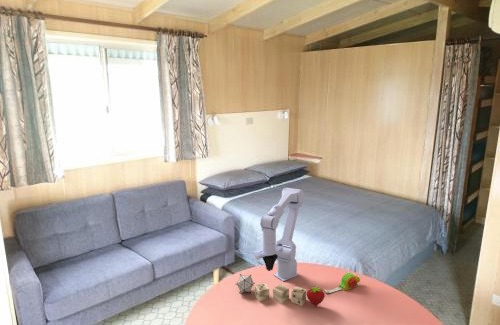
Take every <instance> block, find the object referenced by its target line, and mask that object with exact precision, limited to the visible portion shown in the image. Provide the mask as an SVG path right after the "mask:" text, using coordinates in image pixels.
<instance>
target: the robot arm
mask: <svg viewBox="0 0 500 325" xmlns="http://www.w3.org/2000/svg"><path fill="white" fill-rule="evenodd" d="M304 199H305V193H304V190H303V189H300V188H298V189H297V188H292V187H286V186H285V187H283V189H282V191H281V198H280V199H279V202H278V203H277V204H275V205H272V207H271V209H269V211H268V212H267V214H264V215H263V216H262V217H261V219H260V223H259V224H260V229H261V232H262V246H263V247H262V250H260V251H259V252H258V253H255V255H254V256H255V259H256V260H257V261H258V260H260V259H262V260H263V262H264V265H265V269H266V270H267V271H268V272H270V271H273V270H274V266H275V264H277V267H276V272H275V273H273V276H275V277H276V278H278V279H280V281H282V282H285V281H288V280H290V279H293V278H295V277H298V275H299V274H298V273H297V271H298V270H297V269H298V268H297V266H298V265H297V263H298V262H297V259H296V255H297V254H296V253H297V246H296V244H295V242H294V241H293V236H294V232H295V229H296V227H295V226H296V223H297V218H298V214H299V209H300V208H302V206H303V202H304ZM287 207H288V210H287V214H286V219H285V223H284V228H283V232H282V238H280V239H279V240H277V229H278V227H279V223H280V219H281V218H282V216H283V215H284V213H285V208H287Z"/></svg>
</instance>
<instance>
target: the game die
mask: <svg viewBox="0 0 500 325" xmlns="http://www.w3.org/2000/svg"><path fill="white" fill-rule="evenodd" d="M254 285H256V282H254V281H253V279H252V274H249V275H244V274H243V275H242V274H241V273H239V279H238V281H236V283H235V286H237V287H238V290H239V294H240V293H249V294H250V295H251V294H252V292H251V291H252V288H253V286H254Z"/></svg>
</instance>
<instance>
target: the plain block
mask: <svg viewBox="0 0 500 325" xmlns="http://www.w3.org/2000/svg"><path fill="white" fill-rule="evenodd" d="M272 299H273V300H275V301H276V302H278V303H280V304H283V303H285V302H286V301H288V300H289V299H290V287H287V286H286V285H283V284H279V285H277V286H275V287H274V288H272Z"/></svg>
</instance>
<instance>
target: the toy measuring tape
mask: <svg viewBox="0 0 500 325" xmlns="http://www.w3.org/2000/svg"><path fill="white" fill-rule="evenodd" d="M360 282H361V278H360V277H359V276H358V275H355V274H353V273H352V272H345V273H344V274H343V275H342V277H341V281H340V283H339V284H338V286H337V287H335V288H333V289H330V290H327V289H326V288H325V289H323V292H324V294H327V295H329V294H331V293H334V292H338V291H341V290H342V291H348V290H351V289H354V288H356V287H358V286H359V284H358V283H360Z"/></svg>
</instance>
